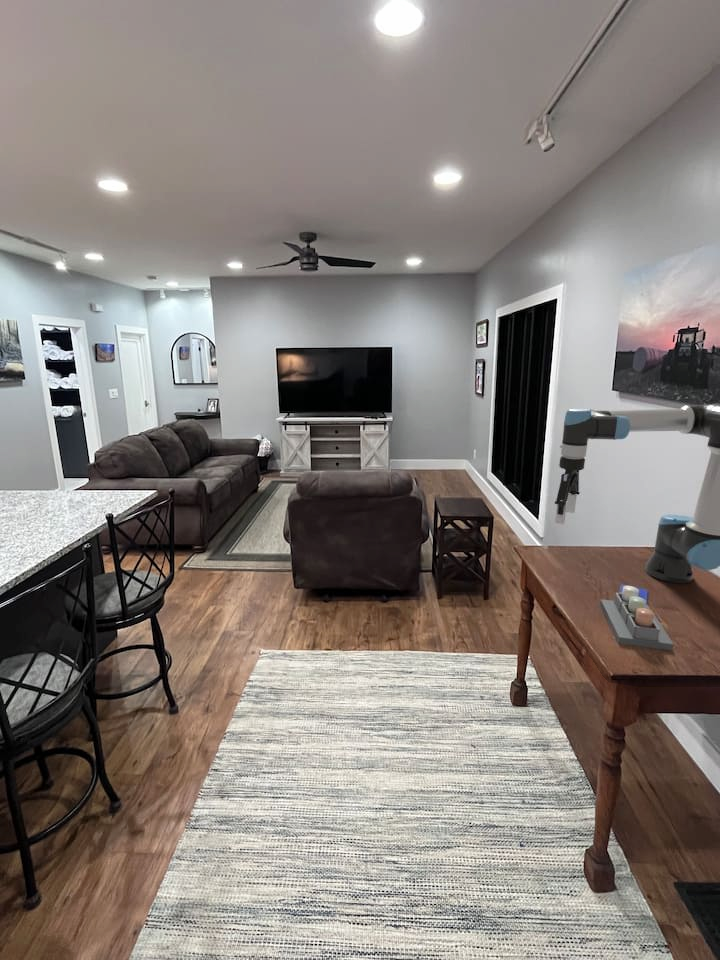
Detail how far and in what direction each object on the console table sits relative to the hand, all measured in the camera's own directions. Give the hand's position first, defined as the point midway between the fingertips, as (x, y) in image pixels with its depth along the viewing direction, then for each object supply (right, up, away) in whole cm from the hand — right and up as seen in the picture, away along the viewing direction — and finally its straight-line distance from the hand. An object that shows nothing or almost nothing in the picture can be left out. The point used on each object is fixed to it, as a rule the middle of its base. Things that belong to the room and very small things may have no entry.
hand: (564, 517), depth 162 cm
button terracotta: (+13, -29, -24) cm, 40 cm away
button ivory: (+16, -26, -10) cm, 32 cm away
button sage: (+14, -27, -17) cm, 35 cm away
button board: (+14, -32, -16) cm, 38 cm away
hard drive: (+24, -28, +2) cm, 37 cm away
